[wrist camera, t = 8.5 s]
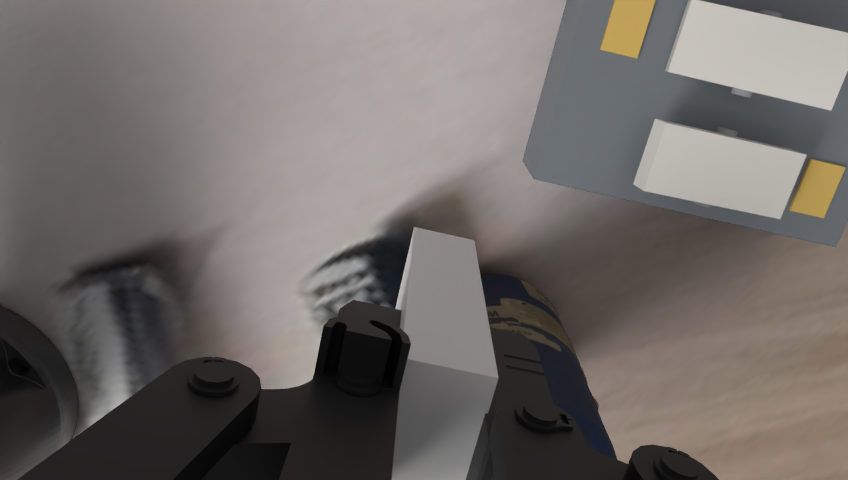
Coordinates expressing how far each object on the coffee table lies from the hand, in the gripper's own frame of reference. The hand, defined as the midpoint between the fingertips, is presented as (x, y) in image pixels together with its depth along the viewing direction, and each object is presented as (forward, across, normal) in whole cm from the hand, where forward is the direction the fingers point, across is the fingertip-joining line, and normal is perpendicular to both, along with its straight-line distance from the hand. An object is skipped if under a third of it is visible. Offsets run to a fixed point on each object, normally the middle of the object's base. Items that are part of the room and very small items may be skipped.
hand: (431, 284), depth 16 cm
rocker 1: (+20, +15, +8) cm, 26 cm away
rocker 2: (+20, +15, +2) cm, 25 cm away
